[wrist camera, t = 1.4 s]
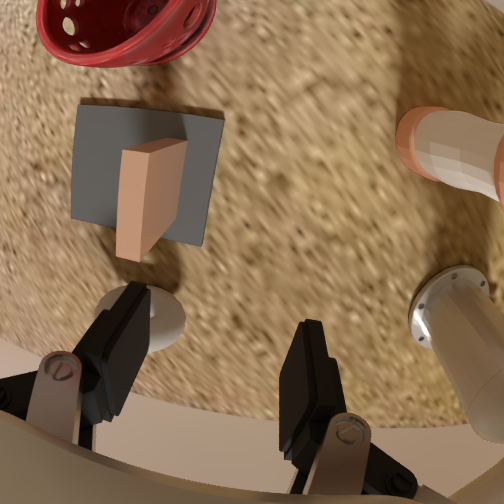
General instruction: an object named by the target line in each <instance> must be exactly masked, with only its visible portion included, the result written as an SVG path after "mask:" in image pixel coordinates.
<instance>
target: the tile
mask: <svg viewBox="0 0 504 504" xmlns="http://www.w3.org/2000/svg"><path fill="white" fill-rule="evenodd" d="M187 142H188V140H182V139H175V138H169V137H168V138H164V139H160V140H156V141H152V142H148V143H144V144H140V145H137V146H133V147H130V148H126V149H123V150H122V158H121V168H120V179H119V192H118V207H117V229H116V257H121V258H125V259H129V260H133V261H137V262H140V261H141V260H142V259H143V257H144V256H145V255H146V254H147V253H148V251H149V250H150V249H151V248H152V247H153V245H154V244H155V243H156V242H157V241H158V239H159V238H160V237H161V236H162V235H163V233H164V232H165V231H166V230H167V229H168V227H169V226H170V225H171V224H172V223H173V222H174V220H175V219H176V216H177V208H178V201H179V193H180V186H181V179H182V173H183V166H184V160H185V154H186V148H187Z"/></svg>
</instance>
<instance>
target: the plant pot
mask: <svg viewBox="0 0 504 504" xmlns="http://www.w3.org/2000/svg"><path fill="white" fill-rule="evenodd" d="M60 2H61V0H38V4H37V11H36V25H37V31H38V35H39V38H40V40H41V42H42V44H43V46H44V47H45V48H46V50H47V51H48V52H50V53H51V54H52V55H53V56H54V57H55V58H57V59H59V60H61V61H63V62H65V63H68V64H73V65H79V66H87V67H98V68H115V67H125V66H134V65H141V66H151V65H158V64H163V63H166V62H169V61H172V60H174V59H176V58H178V57H180V56H182V55H184V54H185V53H186V52H188V51H189V50H191V49H192V48H193V47H194V46H195V45H196V44H197V43H198V42H199V41H200V40H201V39H202V38H203V37H204V35H205V34H206V33H207V31H208V29H209V28H210V26H211V23H212V21H213V18H214V15H215V11H216V0H80V4H79V6H78V7H77V6H76V5H75V2H76V0H66V6H65V8H64V9H62V8H61V5H60ZM65 17H68V18H70V19H71V20H72V22H73V24H74V27H75V32H74V35H73V36H72V35H69V34H68V33H66V32H65V31H64V29H63V25H62V24H63V20H64V18H65ZM79 42H81V43H83V44H84V45H86V47H87V48H85V47H83V46H82V45H81V44H80V43H79ZM73 49H74V50H73Z"/></svg>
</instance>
